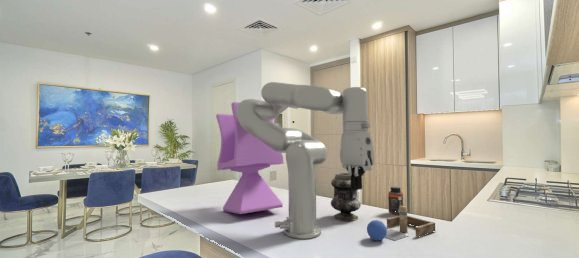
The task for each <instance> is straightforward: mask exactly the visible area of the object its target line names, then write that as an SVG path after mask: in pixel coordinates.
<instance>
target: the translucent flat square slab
mask: <svg viewBox="0 0 579 258" xmlns="http://www.w3.org/2000/svg"><path fill="white" fill-rule="evenodd" d="M405 234H406V233H403V232H400V231H398V230H395V229H392V228H389V229H387V234H386V236H385V239H388V238H389V239H388V240H392V241H398V240H401V239H404V238H406V237H405V236H406V235H405ZM403 237H404V238H403Z"/></svg>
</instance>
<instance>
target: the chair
mask: <svg viewBox="0 0 579 258" xmlns="http://www.w3.org/2000/svg"><path fill="white" fill-rule="evenodd" d="M239 103H240V102H236V101H233V102H232V103H231V105H230V106H231V110H232V114H227V113H226V114H224V113H217V114H216V115H215V117H216V120H217V124H218V128H219V133H220V139H221V140H220V142H221V143H220V149H219V150H220V152H219V156H218V159H217V163H216V164H217V166H216V167H217V171H222V170H223V171H227V170H230V171H231V172H236V173H242V174H241V176H240V177H239V180H238V182H237V183H236V185H234V186H235V187H234V188H233V190H232V191H231V193H230V194H229V196H228V198H227V200H226V202H225V203H224V205H223V206H222V211H223V212H224V213H225V212H227V213H233V214H238V215H243V214H249V213H250V214H251V213H254V212H261V211H266V210H274V209H279V208H283V206H284V204H283V202H282V200H281V199H280V198H279V197H278V195H276V193H275V192H274V191H273V189H272V188H271V186H269V185H268V183H267V182H266V181H265V180H264V179H263V177H262V175H260V173H259V171H262V170H264V169H267V168H270V167H271V166H272V165H273V166H275V165H283V164H284V162H285V161H284V156H283V153H279V152H276V151H274V150H273V149H271V148H270V147H269V146H267V145H266V144H264V143H263V142H261V141H260V140H258V139H257V138H255V137H254V136H252V135H251V134H249V133H248V132H247V131H245V130H244V129H243V127H242V126H241V125H240V123H239V120H238V117H237V107H238V104H239ZM270 122H272V123H274V124H275V118H274V119H273V120H271V121H270Z"/></svg>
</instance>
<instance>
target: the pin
mask: <svg viewBox="0 0 579 258" xmlns="http://www.w3.org/2000/svg"><path fill="white" fill-rule="evenodd" d="M399 214H400V215H399V216H400V225H399V232H402V233H403V232H407V233H408V225H407V216H408V207H407V206H406V205H403V206H399Z"/></svg>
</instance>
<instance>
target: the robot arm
mask: <svg viewBox="0 0 579 258" xmlns="http://www.w3.org/2000/svg"><path fill="white" fill-rule="evenodd" d="M260 91H261V93H260V94H261V97H262V99H263V100H260V99H254V98H247V99H243V100H241V101H240V102H238V103H239V104H238V107H237V117H238V120H239V123H240V125H241V126H242V127H243V129H244V130H245V131H247V132H248V133H249V134H251V135H252V136H254V137H255V138H257V139H258V140H260V141H261V142H263V143H264V144H266V145H267V146H269V147H270V148H271V149H273V150H274V151H276V152H279V153H282V154H285V160H286V161H285V162H286V166H287V174H288V175H287V177H288V217H286V218H285V219H286V220H285V219H284V220H283V221H275V222H274V228H279V230H283V233H284V234H285V236H287V237H289V238H294V239H301V240H302V239H303V240H304V239H313V238H317V237H319V236H320V235H321V234H322V229H321V228H320V227H319V226H318V225H317V178H316V173H315V170H314V167H317V166H320V165H322V164H323V163H325V161H326V160H327V158H328V149H327V147H326V145H325V144H324V143H323V142H322V141H320V140H319V139H317V138H315V137H314V136H312V135H310V134H308V133H306V132H304V131H303V130H301V129H297V128H291V127H290V128H289V127H283V126H280V125H277V124H275V122H274V123H272V122H270V121H271V120H273V119H274V120H275V119H276V118H277V117H279V115H281V114H282V113H284V111H286V110H287V109H288V108H290V109H297V110H298V109H305V110H310V111H316V112H318V113H319V112H320V113H324V114H325V113H326V114H331V115H342V133H341V137H340V138H341V139H340V145H339V146H340V148H339V159H340V163H341V167H342V168H343V169H345V170H346V171H347V173H349V175H350V176H351V189H354V190H357V191H359V190H362V189H363V176H364V175H365V173H366V172H369V171H372V166H374V164H375V151H374V150H375V148H374V142H373V138H372V137H373V136H372V134H371V132H369V129H370V128H371V124H370V123H369V114H368V113H369V108H368V104H369V103H368V91H367V89H366V88H364V87H361V86H352V87H346V88H345V89H343V90H342V91H337V90H335V89H331V88H328V87H324V86H319V85H317V86H316V85H309V84H308V85H305V84H294V83H293V84H292V83H284V82H275V81H271V82H267V83H265V84H264V85H263V86H262V88H261V90H260Z"/></svg>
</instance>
